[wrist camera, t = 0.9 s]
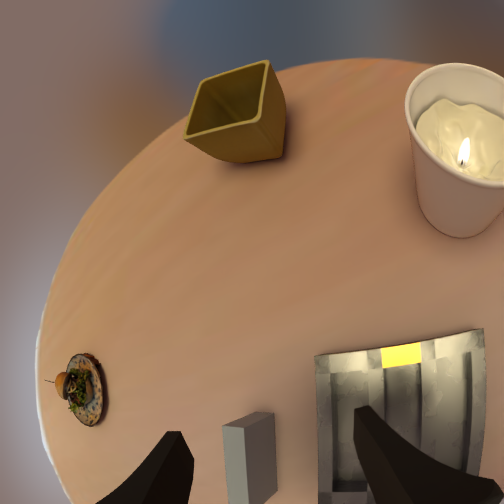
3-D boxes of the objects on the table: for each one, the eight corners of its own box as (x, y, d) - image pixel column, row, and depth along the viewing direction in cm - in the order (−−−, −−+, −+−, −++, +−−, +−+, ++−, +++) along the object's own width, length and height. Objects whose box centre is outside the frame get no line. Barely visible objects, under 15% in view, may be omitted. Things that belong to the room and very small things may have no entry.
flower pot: (238, 121, 38) (199, 79, 30) (300, 109, 34) (269, 57, 26) (227, 178, 36) (180, 140, 28) (296, 170, 32) (259, 120, 24)
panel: (277, 490, 23) (249, 516, 18) (259, 487, 24) (229, 511, 19) (274, 412, 26) (243, 427, 21) (255, 412, 27) (222, 425, 22)
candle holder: (407, 150, 26) (396, 60, 16) (494, 154, 21) (517, 69, 11) (408, 244, 24) (410, 180, 14) (506, 250, 20) (560, 193, 9)
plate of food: (96, 438, 36) (57, 442, 30) (67, 384, 42) (31, 383, 36) (122, 395, 36) (77, 397, 29) (88, 337, 42) (48, 333, 35)
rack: (470, 475, 15) (476, 490, 12) (327, 490, 21) (317, 506, 18) (474, 329, 20) (484, 328, 17) (323, 354, 25) (313, 356, 23)
